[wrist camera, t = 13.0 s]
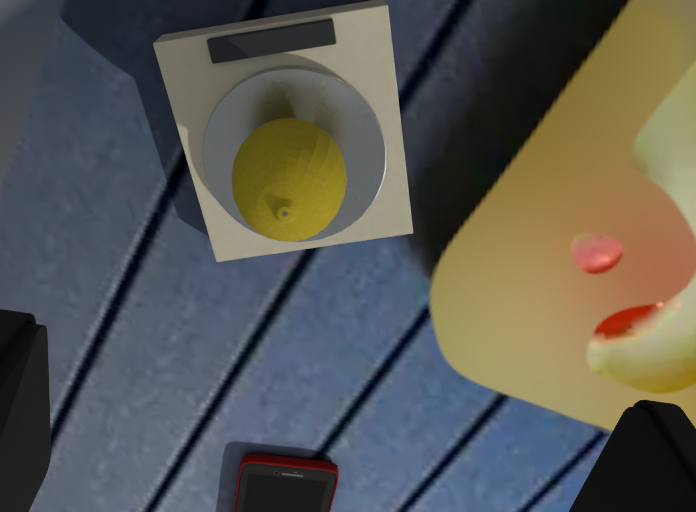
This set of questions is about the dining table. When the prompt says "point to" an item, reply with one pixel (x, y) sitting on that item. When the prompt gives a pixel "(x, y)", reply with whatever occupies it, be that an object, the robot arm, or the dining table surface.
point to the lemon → (288, 179)
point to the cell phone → (284, 484)
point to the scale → (292, 114)
